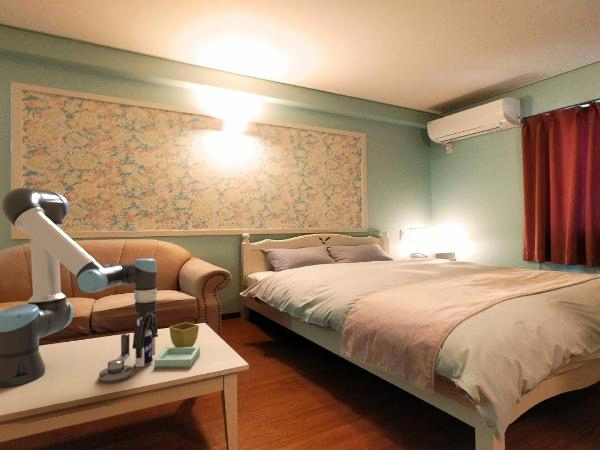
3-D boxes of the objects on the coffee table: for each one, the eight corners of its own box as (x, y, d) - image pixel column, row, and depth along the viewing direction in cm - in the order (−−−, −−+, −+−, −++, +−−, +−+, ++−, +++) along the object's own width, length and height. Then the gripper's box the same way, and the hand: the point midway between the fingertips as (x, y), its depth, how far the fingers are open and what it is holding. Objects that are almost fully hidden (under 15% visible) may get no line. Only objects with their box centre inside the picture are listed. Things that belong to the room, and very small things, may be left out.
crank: (121, 373, 117) (121, 346, 117) (105, 374, 116) (105, 347, 116) (133, 356, 131) (133, 332, 131) (119, 357, 130) (119, 333, 130)
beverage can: (145, 367, 127) (145, 334, 127) (132, 366, 128) (132, 333, 128) (155, 361, 132) (155, 329, 132) (142, 360, 133) (142, 328, 133)
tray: (154, 368, 126) (154, 360, 126) (166, 355, 139) (166, 347, 139) (191, 367, 126) (191, 359, 126) (199, 354, 139) (199, 346, 139)
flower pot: (199, 346, 149) (199, 325, 149) (182, 352, 141) (182, 330, 141) (185, 342, 153) (185, 322, 153) (168, 348, 146) (168, 326, 146)
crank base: (92, 383, 113) (92, 376, 113) (108, 371, 123) (108, 364, 123) (124, 383, 114) (124, 376, 114) (137, 370, 124) (137, 364, 124)
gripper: (143, 307, 119) (144, 372, 119) (166, 294, 141) (166, 349, 141) (121, 307, 118) (121, 373, 118) (147, 294, 141) (147, 349, 141)
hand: (145, 360), depth 130 cm, fingers open, 10 cm apart
